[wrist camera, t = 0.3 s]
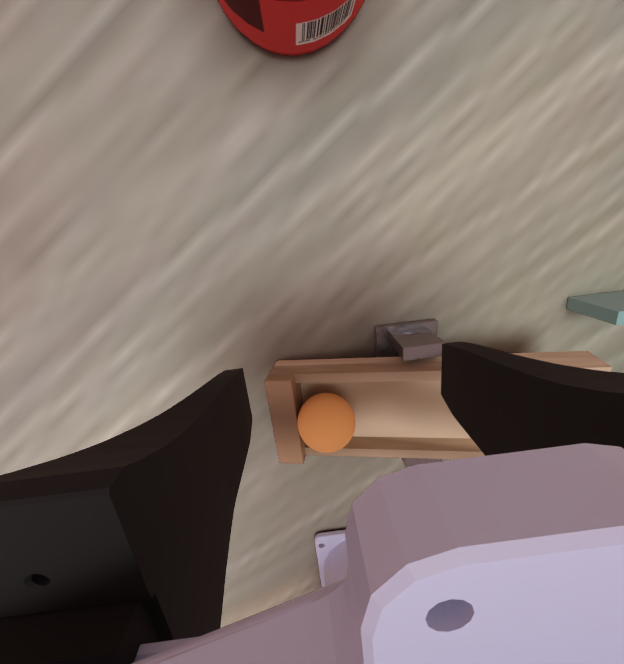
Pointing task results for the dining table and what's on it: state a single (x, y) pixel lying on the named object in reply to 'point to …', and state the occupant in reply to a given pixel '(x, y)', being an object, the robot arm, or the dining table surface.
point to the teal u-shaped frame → (600, 306)
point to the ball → (326, 422)
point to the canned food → (291, 22)
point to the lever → (382, 404)
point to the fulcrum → (409, 350)
